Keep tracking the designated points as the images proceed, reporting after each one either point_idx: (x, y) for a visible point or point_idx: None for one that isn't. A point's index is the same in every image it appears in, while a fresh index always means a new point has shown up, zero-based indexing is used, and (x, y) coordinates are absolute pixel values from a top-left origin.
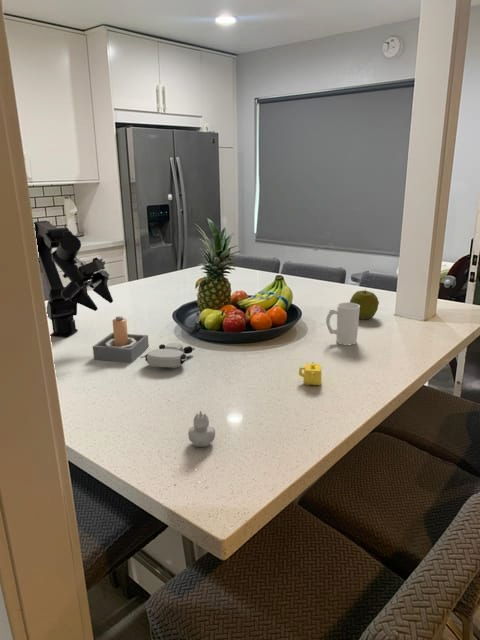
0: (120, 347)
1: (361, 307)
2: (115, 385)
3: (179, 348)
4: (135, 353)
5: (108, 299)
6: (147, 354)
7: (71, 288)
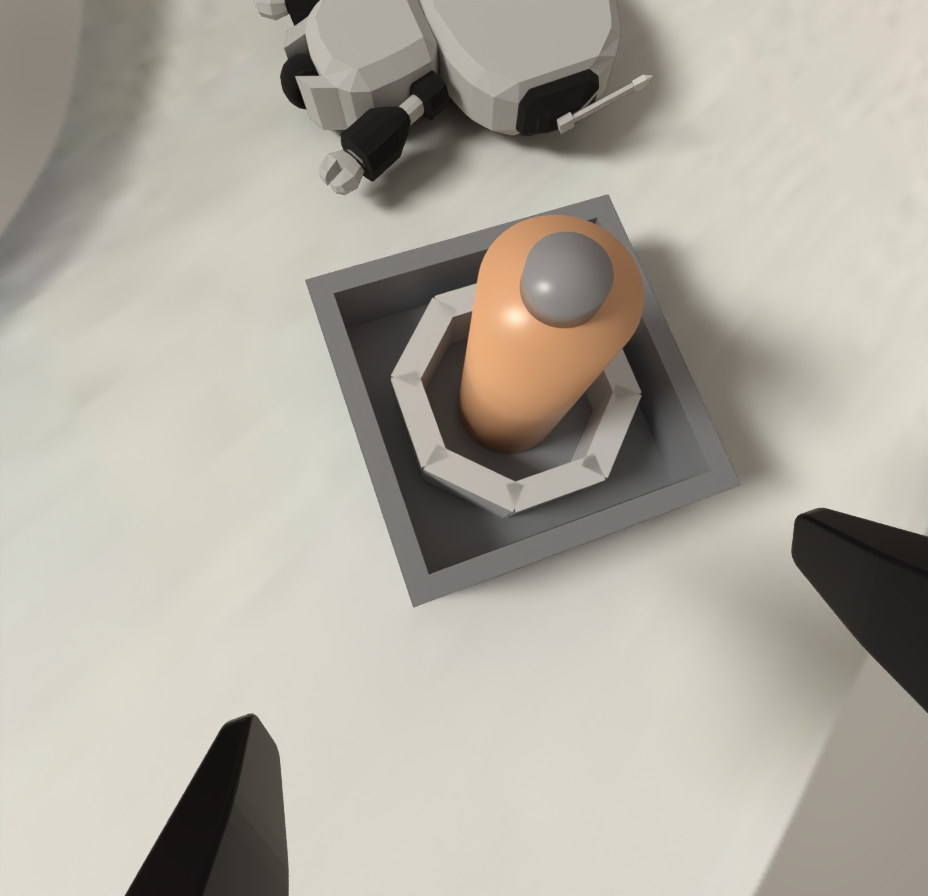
0: None
1: None
2: (825, 138)
3: None
4: None
5: (267, 827)
6: (602, 55)
7: None
